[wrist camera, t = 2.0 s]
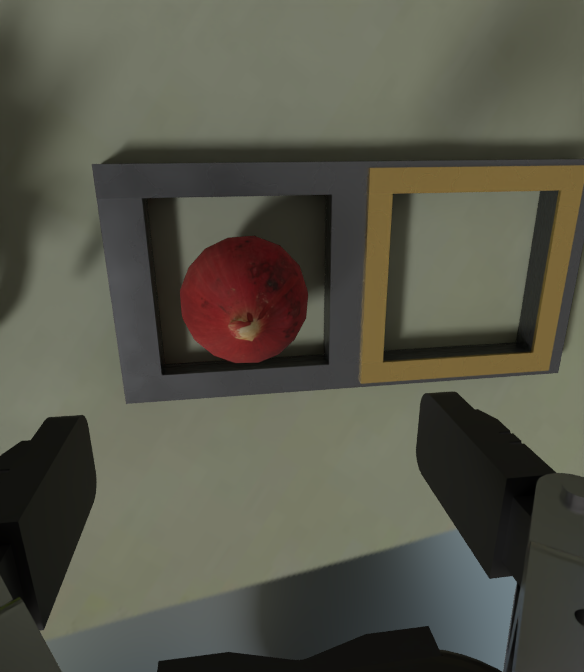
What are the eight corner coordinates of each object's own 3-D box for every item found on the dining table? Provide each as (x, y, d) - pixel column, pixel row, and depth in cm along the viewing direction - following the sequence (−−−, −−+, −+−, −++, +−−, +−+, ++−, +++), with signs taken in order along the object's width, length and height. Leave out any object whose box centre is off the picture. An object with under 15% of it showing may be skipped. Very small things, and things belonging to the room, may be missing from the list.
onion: (240, 202, 24) (248, 219, 17) (317, 279, 26) (355, 325, 19) (164, 283, 25) (139, 334, 18) (243, 352, 27) (251, 424, 19)
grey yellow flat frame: (99, 164, 23) (90, 164, 21) (579, 159, 26) (602, 158, 24) (131, 391, 27) (125, 405, 25) (542, 363, 30) (560, 374, 28)
